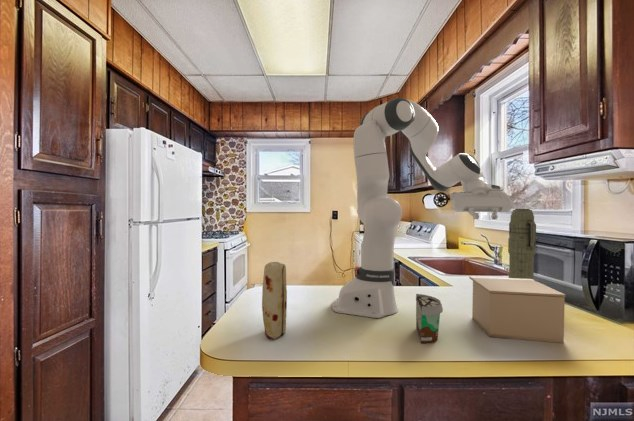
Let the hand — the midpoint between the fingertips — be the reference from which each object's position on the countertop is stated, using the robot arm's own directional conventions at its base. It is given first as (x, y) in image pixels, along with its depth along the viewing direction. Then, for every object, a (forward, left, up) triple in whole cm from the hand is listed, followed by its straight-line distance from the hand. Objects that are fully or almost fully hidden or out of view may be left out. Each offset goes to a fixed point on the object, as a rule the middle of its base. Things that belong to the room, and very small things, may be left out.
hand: (485, 218), depth 109 cm
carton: (0, -23, -31) cm, 39 cm away
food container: (-25, -33, -32) cm, 52 cm away
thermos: (+17, +11, -32) cm, 38 cm away
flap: (0, -21, -19) cm, 29 cm away
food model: (-67, -40, -32) cm, 84 cm away
